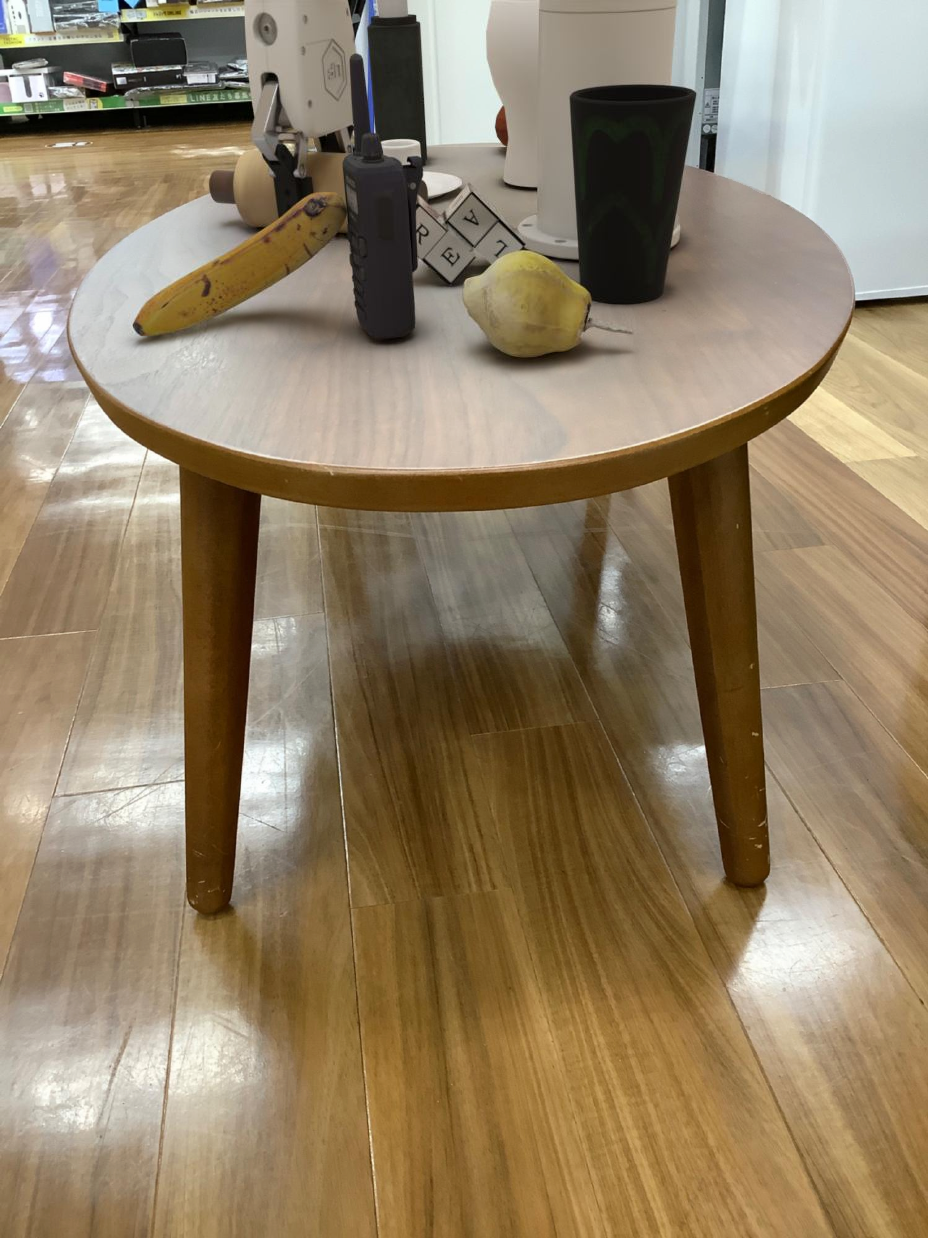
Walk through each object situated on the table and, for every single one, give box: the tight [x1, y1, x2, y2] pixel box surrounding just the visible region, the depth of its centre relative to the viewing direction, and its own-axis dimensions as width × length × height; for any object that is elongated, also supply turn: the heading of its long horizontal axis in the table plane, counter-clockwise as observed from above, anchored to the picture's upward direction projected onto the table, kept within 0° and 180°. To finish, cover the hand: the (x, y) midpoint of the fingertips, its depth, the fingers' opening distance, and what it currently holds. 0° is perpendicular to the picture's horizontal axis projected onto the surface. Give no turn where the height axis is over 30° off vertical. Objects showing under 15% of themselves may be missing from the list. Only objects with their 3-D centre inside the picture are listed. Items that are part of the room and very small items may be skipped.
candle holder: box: [381, 139, 463, 200], centre depth 94 cm, size 12×12×4 cm
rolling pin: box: [208, 148, 429, 234], centre depth 83 cm, size 19×6×6 cm, turn 69°
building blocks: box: [416, 182, 526, 287], centre depth 71 cm, size 5×5×8 cm
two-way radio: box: [342, 53, 424, 341], centre depth 58 cm, size 6×4×15 cm
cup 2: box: [485, 0, 539, 188], centre depth 92 cm, size 11×11×15 cm
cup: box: [569, 84, 697, 305], centre depth 65 cm, size 8×8×12 cm
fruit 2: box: [462, 249, 634, 358], centre depth 58 cm, size 6×6×10 cm
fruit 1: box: [132, 192, 347, 337], centre depth 61 cm, size 15×9×3 cm
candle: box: [366, 0, 428, 166], centre depth 100 cm, size 5×5×25 cm
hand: (318, 216), depth 84 cm, fingers closed on rolling pin, 6 cm apart
